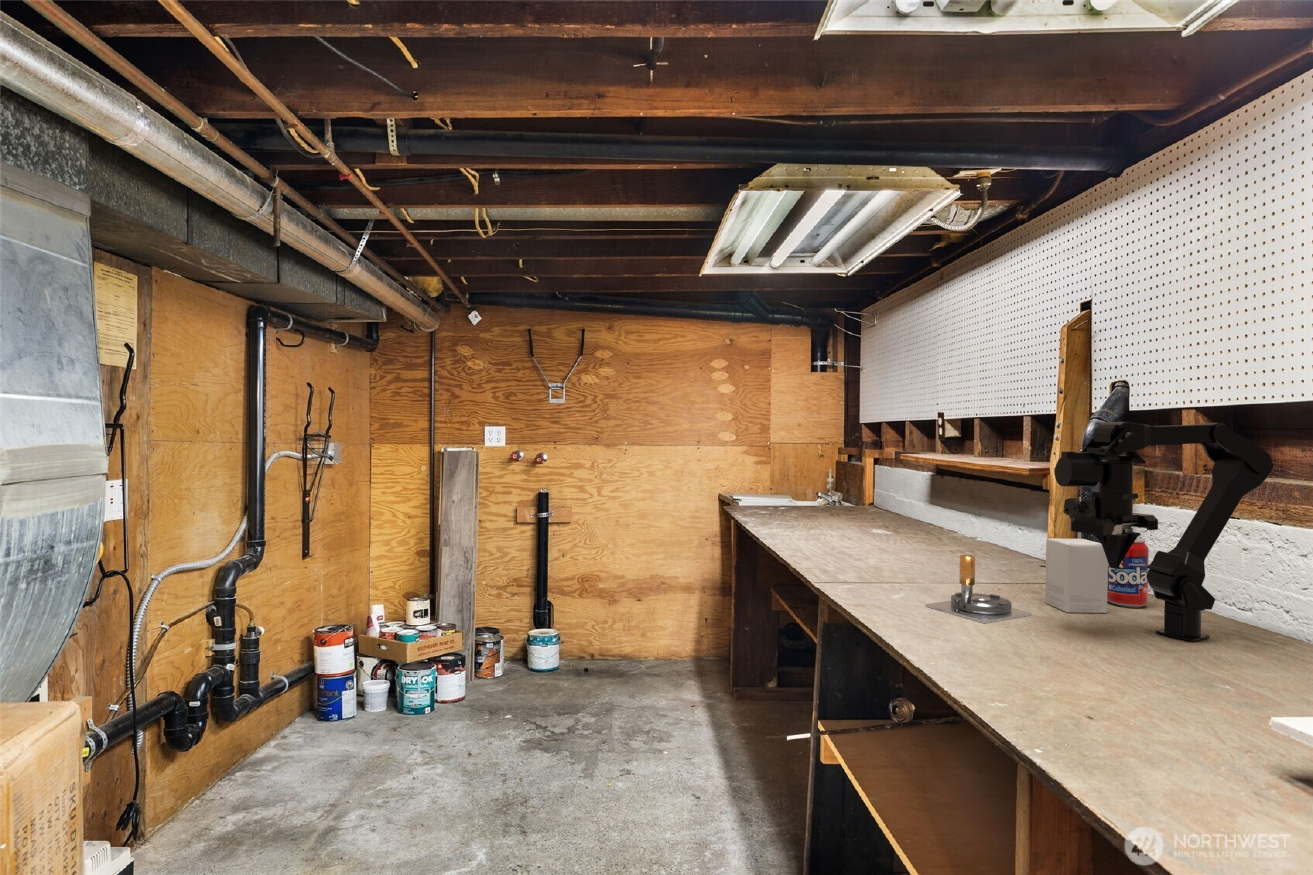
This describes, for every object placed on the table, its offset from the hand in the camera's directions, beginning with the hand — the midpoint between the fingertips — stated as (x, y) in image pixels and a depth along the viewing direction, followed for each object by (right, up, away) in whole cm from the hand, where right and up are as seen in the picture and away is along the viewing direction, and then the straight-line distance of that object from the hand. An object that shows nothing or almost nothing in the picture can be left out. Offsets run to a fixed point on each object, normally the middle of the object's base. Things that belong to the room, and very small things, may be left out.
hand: (1113, 568), depth 134 cm
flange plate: (-18, -13, +17) cm, 28 cm away
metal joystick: (-17, -13, +18) cm, 28 cm away
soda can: (+19, -13, +24) cm, 33 cm away
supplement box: (+5, -13, +21) cm, 25 cm away
